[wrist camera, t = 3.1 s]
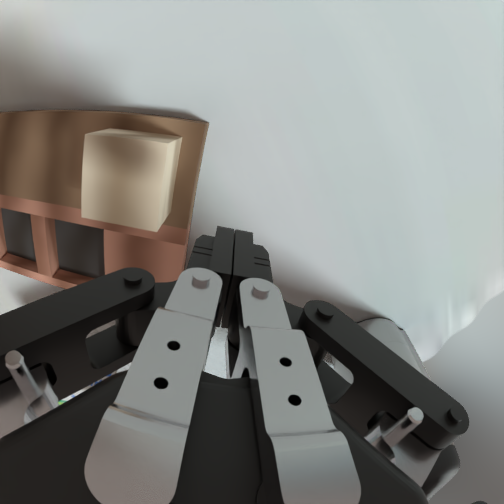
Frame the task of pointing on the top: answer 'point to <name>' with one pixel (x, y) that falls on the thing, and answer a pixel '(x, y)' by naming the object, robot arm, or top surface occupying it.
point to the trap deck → (69, 199)
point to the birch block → (129, 177)
